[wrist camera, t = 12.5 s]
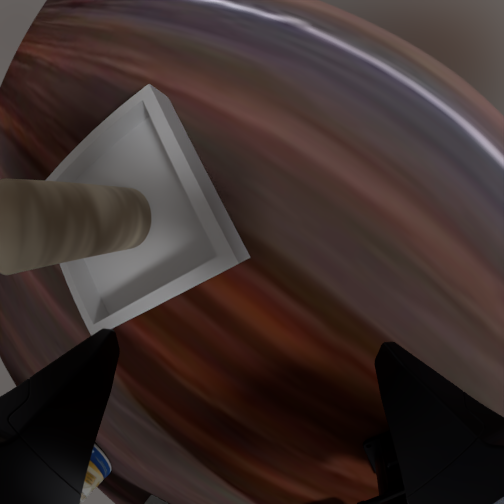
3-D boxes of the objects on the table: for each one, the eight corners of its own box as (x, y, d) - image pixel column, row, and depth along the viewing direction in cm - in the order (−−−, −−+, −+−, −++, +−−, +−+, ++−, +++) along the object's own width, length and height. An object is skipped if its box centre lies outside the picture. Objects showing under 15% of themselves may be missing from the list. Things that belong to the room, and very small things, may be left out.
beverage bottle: (63, 421, 30) (-27, 485, 10) (105, 443, 28) (12, 528, 9) (78, 458, 31) (4, 522, 11) (120, 480, 29) (46, 559, 10)
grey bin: (250, 257, 21) (238, 263, 18) (113, 327, 25) (92, 338, 22) (168, 97, 21) (149, 83, 18) (59, 191, 25) (36, 190, 22)
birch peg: (152, 249, 22) (26, 278, 10) (105, 248, 23) (-12, 272, 12) (151, 184, 21) (23, 170, 10) (104, 191, 23) (-15, 186, 11)
